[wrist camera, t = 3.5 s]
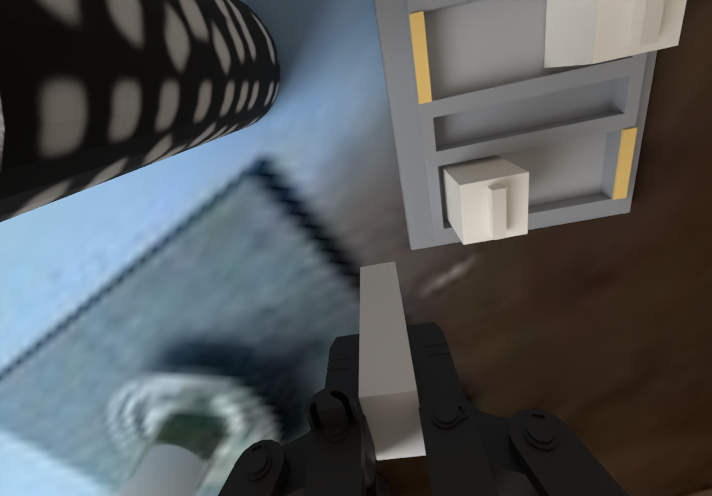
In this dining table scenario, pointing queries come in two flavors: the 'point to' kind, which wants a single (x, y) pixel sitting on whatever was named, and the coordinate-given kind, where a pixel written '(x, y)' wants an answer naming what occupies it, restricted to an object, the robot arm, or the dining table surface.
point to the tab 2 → (609, 29)
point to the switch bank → (506, 110)
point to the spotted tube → (121, 88)
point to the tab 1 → (486, 199)
